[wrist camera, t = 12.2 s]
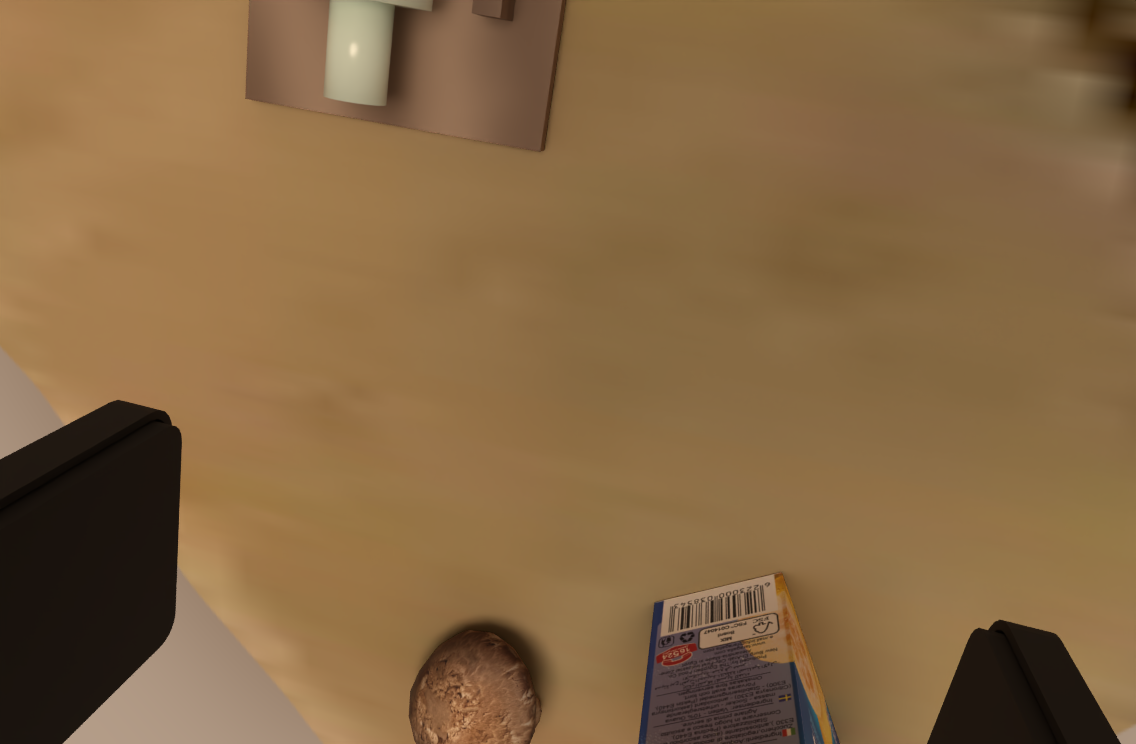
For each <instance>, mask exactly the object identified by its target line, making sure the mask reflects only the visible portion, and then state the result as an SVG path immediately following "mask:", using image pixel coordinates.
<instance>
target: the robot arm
mask: <svg viewBox="0 0 1136 744" xmlns="http://www.w3.org/2000/svg"><path fill="white" fill-rule="evenodd" d="M181 449H182V438H181V433H180V430H179V429H178V428H177V427H176V426H172V423H171V420H170V417H169V415H168V414H167V413H166V412H165V411H161V410H157V409H153V408H149V407H145V406H141V405H137V404H133V403H129V402H125V401H121V400H116V401H113V402H110V403H108V404H106V405H104V406H102V407H100V408H98V409H96V410H95V411H93V412H91V413H89V414H87V415H85V416H83V417H81V418H79V419H77V420H75V421H73V422H71V423H70V424H68V425H66V426H64V427H62V428H60V429H58V430H56V431H55V432H52V433H50V434H48V435H47V436H45V437H43V438H41V439H39V440H37V441H35V442H33V443H31V444H29V445H27V446H26V447H23V448H21V449H19V450H18V451H16V452H14V453H12V454H10V455H8V456H6V457H4V458H2V459H0V744H63V743H64V741H66V740H67V739H68V738H69V737H70V736H71V735H72V734H73V733H74V731H76V729H78V728H79V727H80V726H81V725H82V724H83V723H84V722H85V721H86V720H87V719H88V718H89V717H90V716H91V715H92V714H93V713H94V712H95V711H96V710H97V709H98V708H99V707H100V706H101V705H102V704H103V703H104V702H105V701H106V700H107V699H108V698H109V697H110V696H111V695H112V694H113V693H114V692H115V691H116V690H117V689H118V688H119V687H120V686H121V685H122V684H123V683H124V682H125V681H126V680H127V679H128V678H129V677H130V676H131V675H132V674H133V673H134V672H135V671H136V670H137V669H138V668H139V667H140V666H141V665H142V664H143V663H144V662H145V661H146V660H147V659H148V658H149V657H150V656H151V655H152V654H154V653H155V651H157V650H158V649H159V648H160V646H161V645H162V644H163V643H164V642H165V640H166V639H167V637H168V635H169V633H170V631H171V629H172V626H173V623H174V618H175V609H176V607H175V606H176V582H177V556H178V529H179V502H180V475H181ZM927 744H1121V743H1120V742H1119V740H1118V738H1117V736H1116V735H1115V733H1114V731H1113V729H1112V728H1111V726H1110V724H1109V722H1108V721H1107V719H1106V717H1105V715H1104V714H1103V712H1102V710H1101V709H1100V707H1099V705H1098V703H1097V702H1096V700H1095V698H1094V696H1093V695H1092V693H1091V691H1090V690H1089V688H1088V686H1087V684H1086V683H1085V681H1084V679H1083V677H1082V676H1081V674H1080V672H1079V670H1078V669H1077V667H1076V665H1075V664H1074V662H1073V660H1072V658H1071V657H1070V655H1069V653H1068V651H1067V650H1066V648H1065V646H1064V644H1063V643H1062V641H1061V639H1060V638H1059V637H1058V636H1057V635H1056V634H1054V633H1051V632H1047V631H1043V630H1039V629H1035V628H1031V627H1027V626H1023V625H1019V624H1015V623H1011V622H1007V621H1003V620H998V621H996V622H994V623H993V625H992V626H991V627H990V628H989V630H985V629H981V628H978V629H975V630H974V631H973V633H972V634H971V636H970V638H969V640H968V642H967V644H966V647H965V649H964V652H963V655H962V657H961V660H960V662H959V665H958V667H957V670H956V672H955V675H954V677H953V680H952V682H951V685H950V687H949V690H948V692H947V695H946V697H945V700H944V702H943V705H942V708H941V710H940V713H939V715H938V718H937V720H936V723H935V725H934V728H933V730H932V733H931V735H930V738H929V740H928V743H927Z"/></svg>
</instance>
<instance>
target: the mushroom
mask: <svg viewBox="0 0 1136 744" xmlns="http://www.w3.org/2000/svg"><path fill="white" fill-rule="evenodd" d="M541 712H542V710H541V706H540V701H539V699H538V698H537V697H536V696H535V692H534V688H533V685H532V681H531V677H530V673H529V670H528V669H527V667H526V666H525V664H524V663H523V661H522V660H521V658H520V657H519V655H518V654H517V652H516V651H515V649H514V648H513V647H512V646H510V645H509V644H508V643H506V642H505V641H503V640H502V639H501V638H499V637H498V636H497V635H495V634H494V633H491V632H482V631H472V630H467V631H464V632H462V633H460V634H458V635H456V636H454V637H453V638H451V639H449V640H447V641H445V642H444V643H442V644H441V645H440V646H438V648H437V649H436V650H435V651H434V652H433V654H432V655H431V656H430V658H429V659H428V660H427V661H426V663H425V664H424V665H423V667H422V668H421V670H420V671H419V673H418V675H417V678H416V680H415V682H414V684H413V686H412V689H411V691H410V705H409V719H410V723H411V727H412V732H413V736H414V740H415V742H416V744H530V741H531V739H532V737H533V734H534V732H535V728H536V726H537V724H538V722H539V720H540V716H541Z"/></svg>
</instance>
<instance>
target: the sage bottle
mask: <svg viewBox="0 0 1136 744" xmlns="http://www.w3.org/2000/svg"><path fill="white" fill-rule="evenodd" d="M432 5H433V0H330V2H329V17H328V32H327V47H326V62H325V77H324V92H323V96H324V97H326V98H330V99H334V100H339V101H345V102H351V103H357V104H365V105H375V106H386V102H387V91H388V80H389V69H390V57H391V46H392V35H393V24H394V12H395V6H396V7H402V8H409V9H415V10H422V11H430V12H432Z"/></svg>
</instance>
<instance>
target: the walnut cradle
mask: <svg viewBox="0 0 1136 744" xmlns="http://www.w3.org/2000/svg"><path fill="white" fill-rule="evenodd" d="M329 2H330V0H249V20H248V46H247V72H246V98H245V99H250V100H256V101H261V102H267V103H272V104H278V105H283V106H289V107H294V108H300V109H306V110H311V111H317V112H322V113H328V114H333V115H339V116H344V117H350V118H356V119H361V120H367V121H372V122H378V123H383V124H389V125H394V126H400V127H406V128H411V129H417V130H422V131H428V132H433V133H439V134H444V135H450V136H456V137H461V138H467V139H472V140H478V141H483V142H489V143H495V144H500V145H506V146H511V147H517V148H522V149H528V150H533V151H539V152H541V151H543V150H544V147H545V140H546V133H547V127H548V120H549V113H550V106H551V99H552V92H553V86H554V79H555V72H556V65H557V58H558V52H559V45H560V38H561V31H562V24H563V17H564V11H565V4H566V0H433V5H432V12H430V11H422V10H415V9H409V8H402V7H396V6H395V12H394V24H393V35H392V46H391V57H390V69H389V80H388V91H387V102H386V106H375V105H365V104H357V103H351V102H345V101H339V100H334V99H330V98H326V97H324V96H323V92H324V77H325V62H326V47H327V32H328V17H329Z"/></svg>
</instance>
